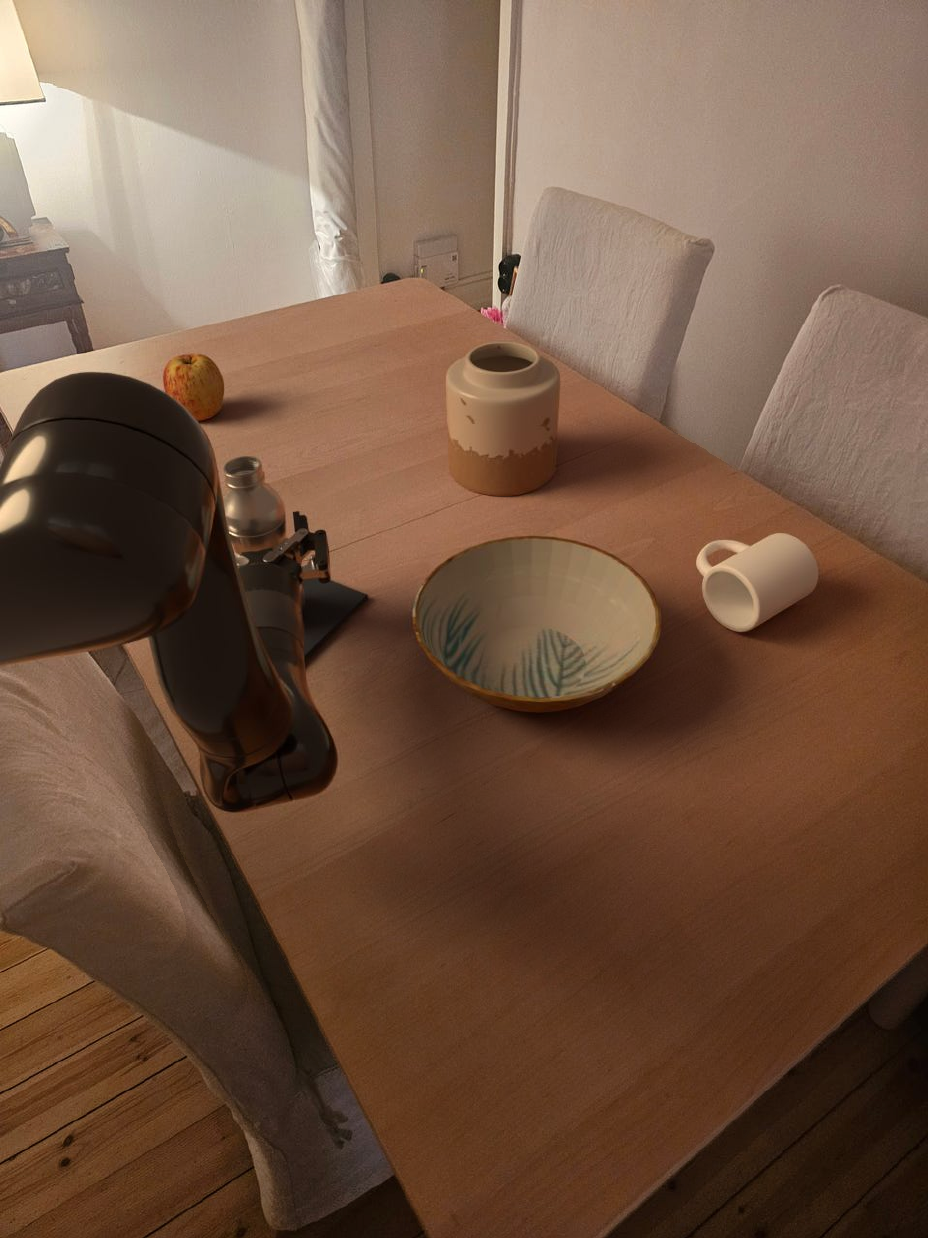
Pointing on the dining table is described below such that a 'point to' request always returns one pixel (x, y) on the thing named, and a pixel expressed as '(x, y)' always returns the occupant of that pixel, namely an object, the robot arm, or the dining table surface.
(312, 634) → the mat
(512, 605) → the bowl
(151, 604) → the robot arm
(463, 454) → the vase
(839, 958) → the dining table surface
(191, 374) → the apple
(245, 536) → the silver metal bottle
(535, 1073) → the dining table surface
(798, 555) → the mug
